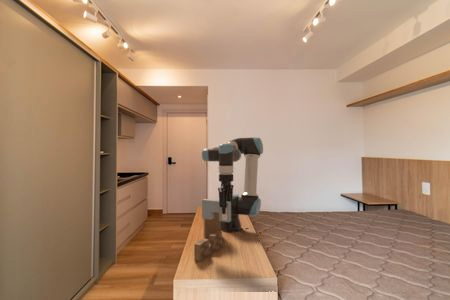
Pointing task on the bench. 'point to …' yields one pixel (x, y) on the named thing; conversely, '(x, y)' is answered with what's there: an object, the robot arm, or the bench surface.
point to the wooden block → (212, 225)
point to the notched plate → (214, 209)
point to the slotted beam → (207, 246)
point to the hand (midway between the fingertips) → (226, 218)
